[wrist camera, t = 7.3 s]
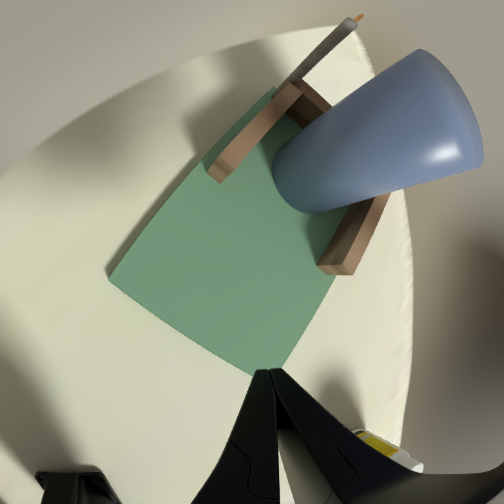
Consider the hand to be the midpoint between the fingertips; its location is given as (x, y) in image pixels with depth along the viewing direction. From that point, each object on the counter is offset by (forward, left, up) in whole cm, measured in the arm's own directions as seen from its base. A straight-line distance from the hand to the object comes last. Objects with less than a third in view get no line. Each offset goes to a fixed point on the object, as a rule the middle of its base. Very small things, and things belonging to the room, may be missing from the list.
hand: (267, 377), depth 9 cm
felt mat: (+6, -6, -10) cm, 13 cm away
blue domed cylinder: (+9, -9, -9) cm, 16 cm away
